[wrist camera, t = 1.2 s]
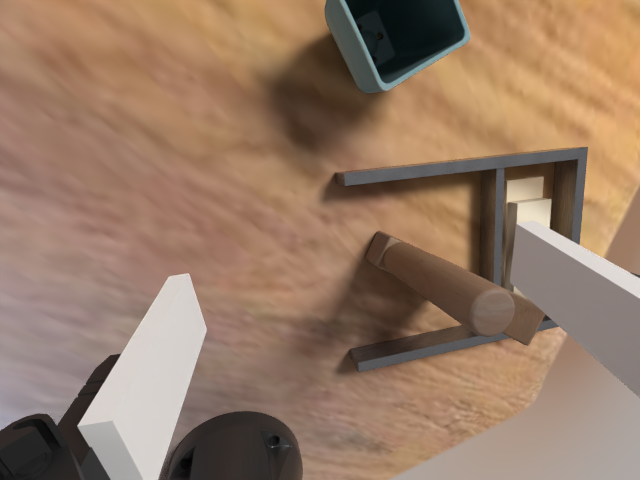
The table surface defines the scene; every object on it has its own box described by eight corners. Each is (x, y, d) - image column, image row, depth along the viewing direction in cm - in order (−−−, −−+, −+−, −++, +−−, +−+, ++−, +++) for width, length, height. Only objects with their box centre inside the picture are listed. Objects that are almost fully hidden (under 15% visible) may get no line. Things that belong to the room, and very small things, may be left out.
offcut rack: (552, 313, 48) (572, 323, 46) (350, 358, 43) (358, 372, 40) (564, 148, 43) (587, 147, 40) (335, 172, 37) (344, 173, 34)
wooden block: (437, 289, 43) (570, 373, 26) (363, 258, 40) (458, 330, 23) (451, 262, 43) (594, 329, 26) (377, 228, 40) (484, 280, 23)
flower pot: (348, 109, 36) (383, 94, 28) (305, 23, 34) (329, -24, 25) (418, 67, 37) (473, 39, 28) (381, -21, 34) (430, -81, 26)
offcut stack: (526, 297, 47) (545, 305, 44) (494, 303, 46) (511, 312, 43) (533, 176, 44) (554, 177, 41) (498, 180, 43) (517, 181, 40)
